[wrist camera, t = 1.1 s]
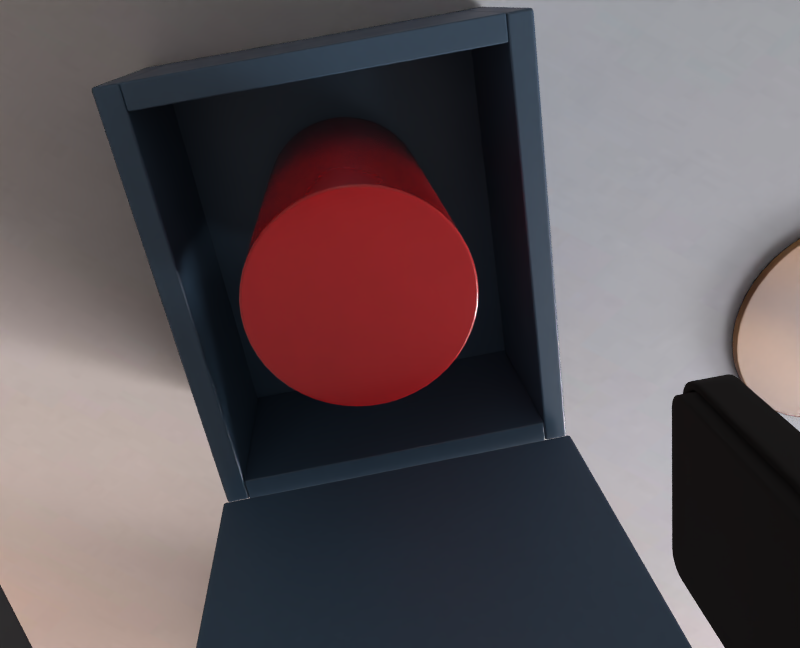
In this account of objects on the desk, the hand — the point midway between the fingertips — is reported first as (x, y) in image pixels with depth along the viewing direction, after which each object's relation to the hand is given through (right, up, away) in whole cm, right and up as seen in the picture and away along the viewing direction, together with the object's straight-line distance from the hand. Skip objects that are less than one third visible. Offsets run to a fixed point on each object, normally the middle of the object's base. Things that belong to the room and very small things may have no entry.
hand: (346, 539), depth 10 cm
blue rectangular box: (-1, +7, +20) cm, 21 cm away
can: (-1, +8, +18) cm, 20 cm away
